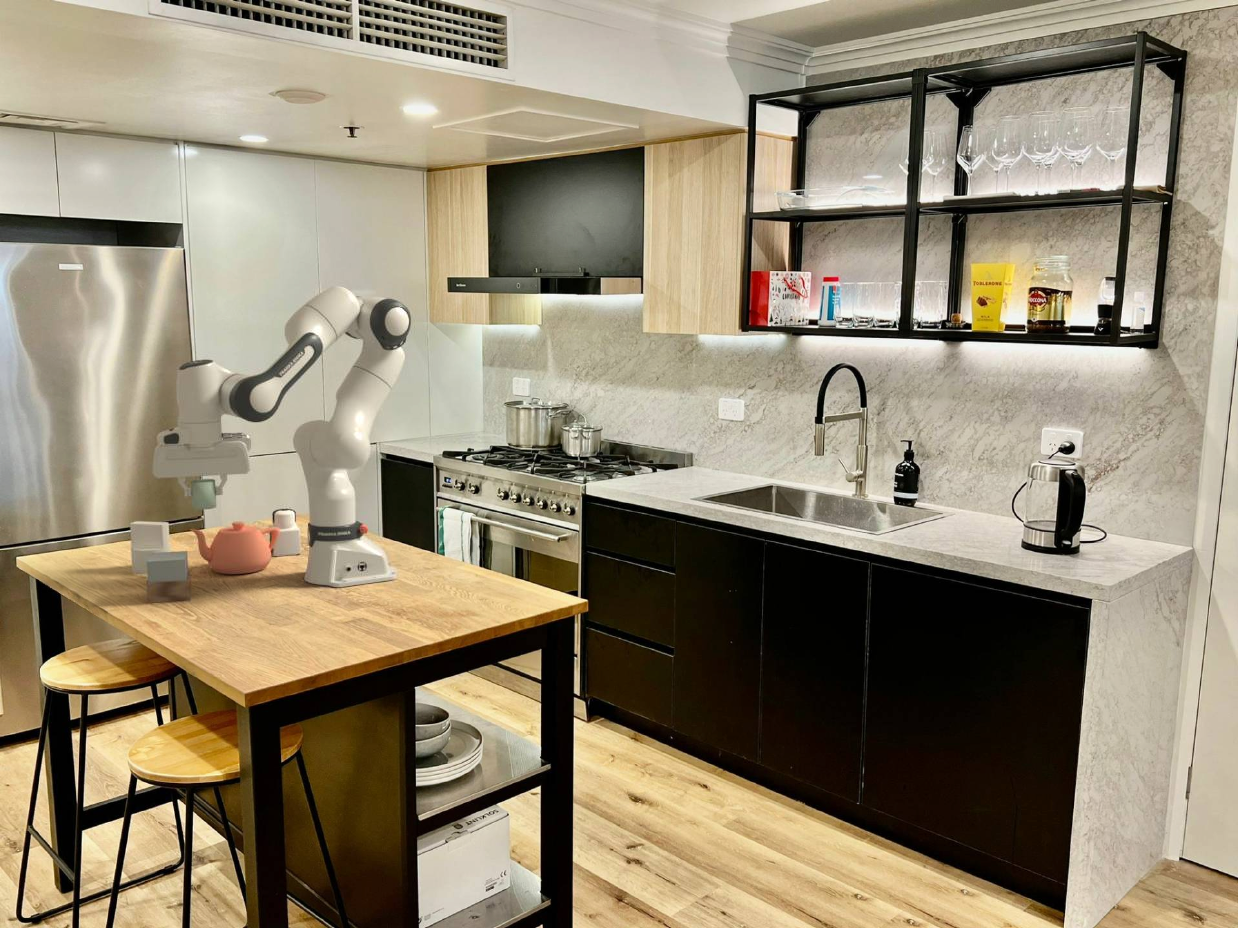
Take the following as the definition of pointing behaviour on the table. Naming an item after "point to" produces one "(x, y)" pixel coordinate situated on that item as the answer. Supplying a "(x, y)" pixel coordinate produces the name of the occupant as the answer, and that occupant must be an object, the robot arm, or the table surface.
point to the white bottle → (286, 533)
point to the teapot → (238, 548)
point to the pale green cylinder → (203, 494)
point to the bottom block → (169, 591)
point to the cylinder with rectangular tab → (147, 542)
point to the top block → (167, 567)
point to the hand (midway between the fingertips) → (203, 495)
